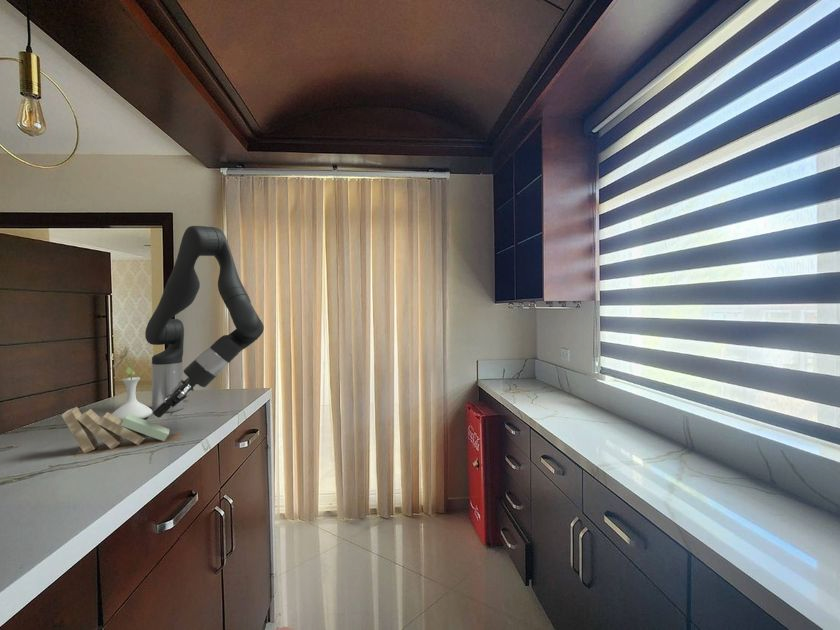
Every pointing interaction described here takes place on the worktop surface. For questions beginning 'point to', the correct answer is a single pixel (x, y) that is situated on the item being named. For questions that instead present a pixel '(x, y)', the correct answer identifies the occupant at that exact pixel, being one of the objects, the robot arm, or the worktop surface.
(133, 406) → the flower in vase
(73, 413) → the end domino
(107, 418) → the domino
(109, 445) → the domino
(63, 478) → the worktop surface
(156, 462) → the worktop surface
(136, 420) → the green domino
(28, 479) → the worktop surface
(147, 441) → the board
